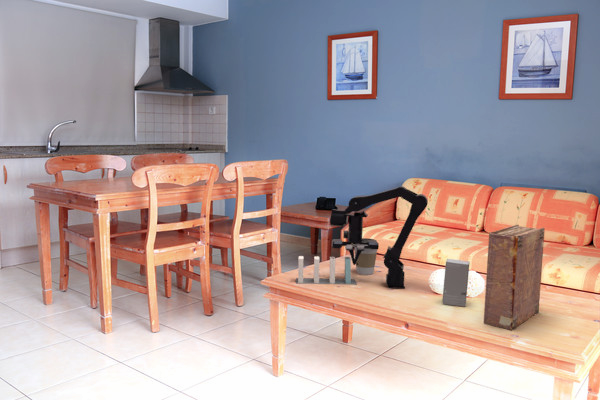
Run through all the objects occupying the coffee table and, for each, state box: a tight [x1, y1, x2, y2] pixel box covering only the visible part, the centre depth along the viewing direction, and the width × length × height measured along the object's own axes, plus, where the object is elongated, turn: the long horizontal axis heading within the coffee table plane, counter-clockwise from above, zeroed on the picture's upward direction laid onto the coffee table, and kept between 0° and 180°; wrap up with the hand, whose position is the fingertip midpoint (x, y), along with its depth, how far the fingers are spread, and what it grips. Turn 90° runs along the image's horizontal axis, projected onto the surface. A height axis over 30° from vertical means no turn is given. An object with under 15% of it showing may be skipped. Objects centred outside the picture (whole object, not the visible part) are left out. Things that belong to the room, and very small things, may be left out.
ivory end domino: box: [297, 255, 305, 283], centre depth 217 cm, size 2×5×10 cm, turn 0°
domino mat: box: [295, 277, 358, 286], centre depth 218 cm, size 25×8×1 cm, turn 90°
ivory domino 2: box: [328, 256, 336, 285], centre depth 216 cm, size 2×5×10 cm, turn 0°
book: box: [483, 224, 545, 331], centre depth 176 cm, size 25×9×30 cm, turn 138°
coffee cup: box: [353, 237, 378, 276], centre depth 232 cm, size 11×11×15 cm
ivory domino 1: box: [313, 255, 320, 283], centre depth 217 cm, size 2×5×10 cm, turn 0°
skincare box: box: [441, 258, 471, 308], centre depth 191 cm, size 8×7×16 cm
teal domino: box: [344, 256, 352, 284], centre depth 217 cm, size 2×5×10 cm, turn 0°
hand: (354, 264), depth 216 cm, fingers closed
